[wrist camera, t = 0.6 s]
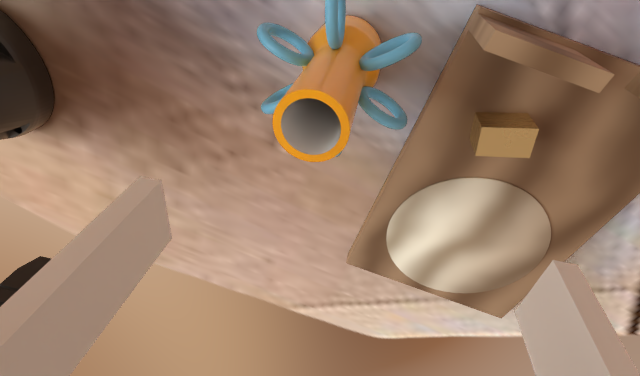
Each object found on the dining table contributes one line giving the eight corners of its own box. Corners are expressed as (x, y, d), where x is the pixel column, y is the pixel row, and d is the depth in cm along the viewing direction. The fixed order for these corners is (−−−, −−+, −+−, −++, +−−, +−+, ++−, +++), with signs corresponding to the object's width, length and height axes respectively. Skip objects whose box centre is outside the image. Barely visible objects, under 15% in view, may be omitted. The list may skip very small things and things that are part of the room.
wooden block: (469, 139, 31) (475, 155, 28) (475, 111, 29) (481, 127, 27) (519, 140, 30) (529, 158, 28) (527, 113, 29) (539, 128, 26)
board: (347, 254, 43) (339, 304, 37) (476, 4, 26) (499, 22, 20) (498, 307, 44) (514, 366, 38) (722, 96, 27) (817, 141, 21)
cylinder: (447, 38, 28) (482, 112, 16) (371, 135, 34) (354, 243, 22) (316, -56, 26) (243, -55, 14) (260, 64, 32) (174, 139, 20)
